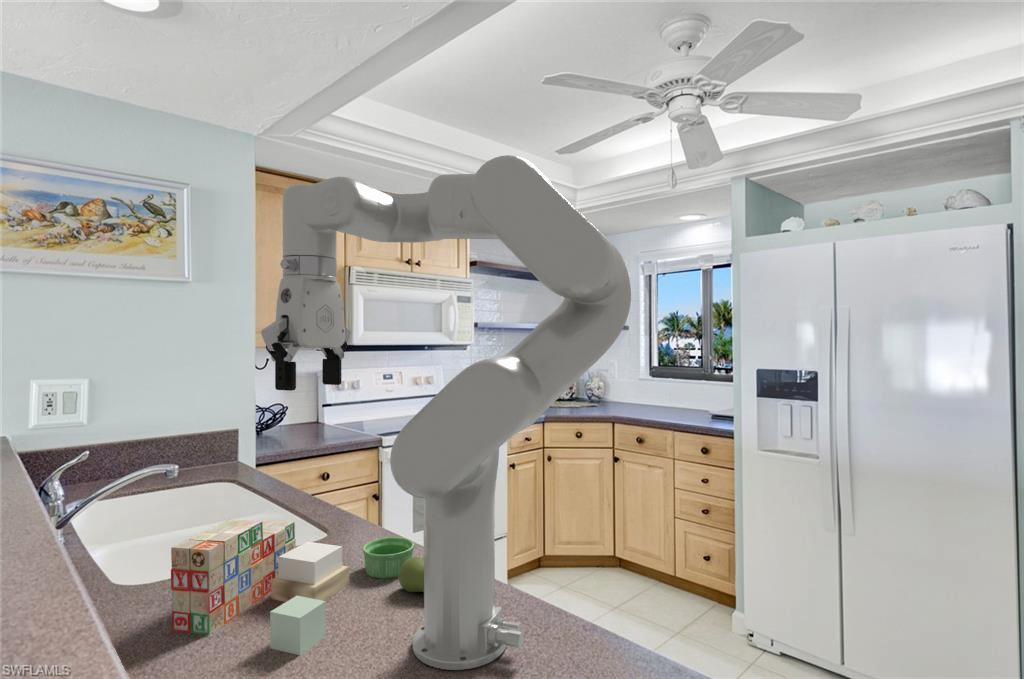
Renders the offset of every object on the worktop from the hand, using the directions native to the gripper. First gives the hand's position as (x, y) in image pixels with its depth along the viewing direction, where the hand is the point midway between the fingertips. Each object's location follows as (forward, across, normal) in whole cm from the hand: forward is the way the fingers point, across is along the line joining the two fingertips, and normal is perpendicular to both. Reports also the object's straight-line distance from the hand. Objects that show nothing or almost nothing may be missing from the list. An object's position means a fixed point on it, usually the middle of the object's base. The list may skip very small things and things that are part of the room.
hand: (309, 387), depth 84 cm
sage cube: (+34, -6, -3) cm, 35 cm away
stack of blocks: (+35, +1, +15) cm, 38 cm away
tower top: (+31, +7, +6) cm, 33 cm away
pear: (+34, +13, -12) cm, 39 cm away
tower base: (+35, +7, +6) cm, 36 cm away
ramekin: (+34, +19, -1) cm, 39 cm away
